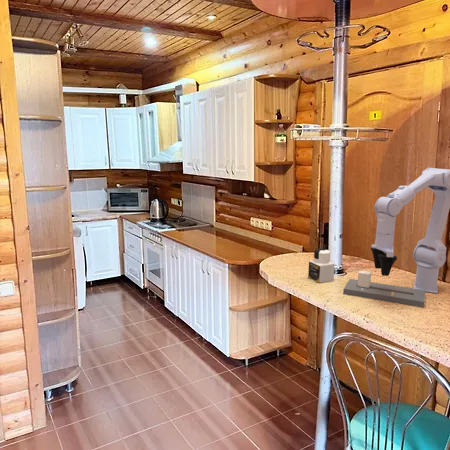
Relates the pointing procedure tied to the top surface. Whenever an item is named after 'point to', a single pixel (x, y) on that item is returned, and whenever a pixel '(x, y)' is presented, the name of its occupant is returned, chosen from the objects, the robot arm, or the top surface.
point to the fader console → (386, 293)
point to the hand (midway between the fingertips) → (381, 271)
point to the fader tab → (364, 279)
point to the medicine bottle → (321, 266)
